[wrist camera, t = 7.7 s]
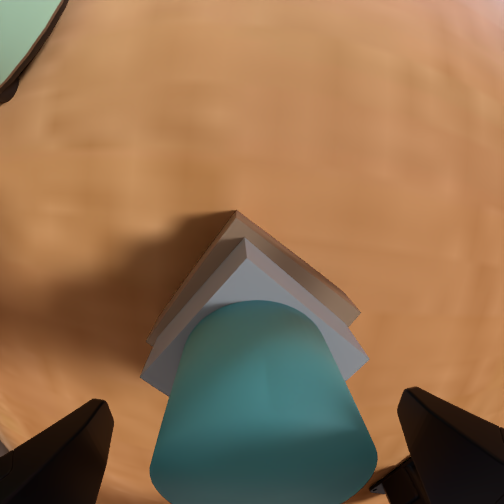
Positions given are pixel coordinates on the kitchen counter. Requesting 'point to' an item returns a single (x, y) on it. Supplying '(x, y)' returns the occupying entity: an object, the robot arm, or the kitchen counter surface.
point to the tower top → (245, 289)
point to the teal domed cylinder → (260, 415)
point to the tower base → (273, 250)
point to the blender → (23, 36)
